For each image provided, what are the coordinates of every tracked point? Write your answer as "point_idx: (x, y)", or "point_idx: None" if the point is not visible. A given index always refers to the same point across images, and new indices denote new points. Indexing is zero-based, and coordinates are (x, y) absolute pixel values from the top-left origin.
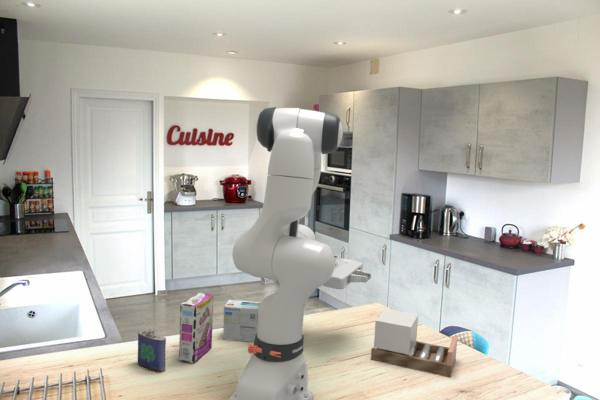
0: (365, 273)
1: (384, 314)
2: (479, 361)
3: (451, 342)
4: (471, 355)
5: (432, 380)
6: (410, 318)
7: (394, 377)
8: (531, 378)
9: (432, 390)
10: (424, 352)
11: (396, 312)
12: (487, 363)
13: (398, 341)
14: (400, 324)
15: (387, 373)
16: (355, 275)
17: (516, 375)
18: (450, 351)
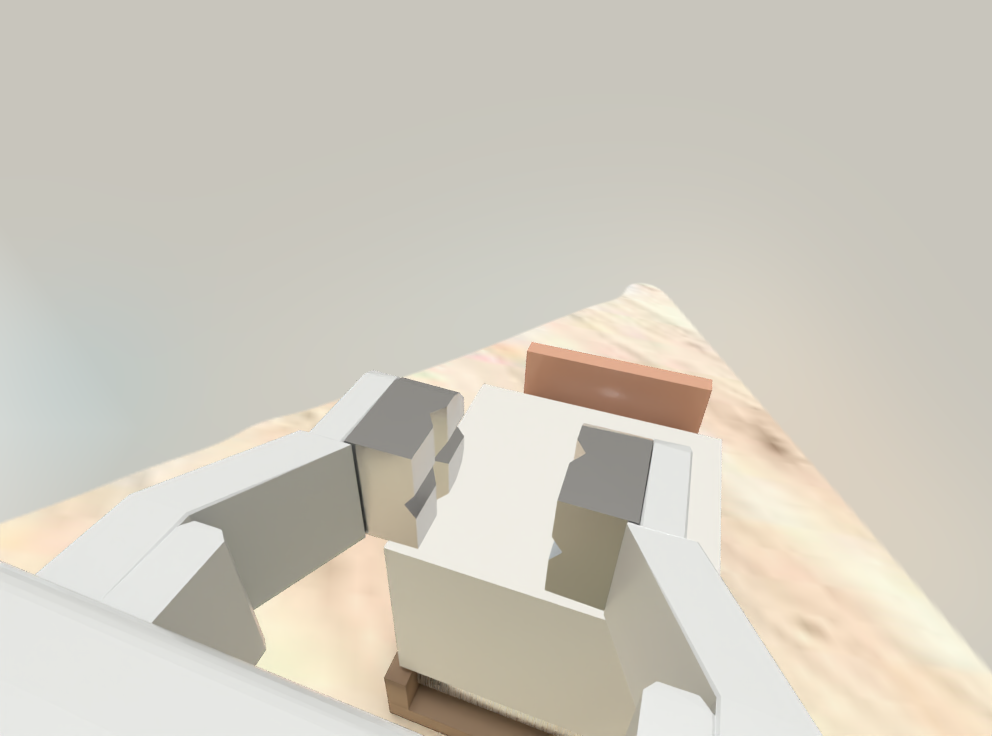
0: (414, 439)
1: (532, 565)
2: (521, 368)
3: (603, 366)
4: (477, 375)
5: (748, 517)
6: (563, 423)
7: (823, 679)
8: (597, 305)
9: (839, 531)
10: None
11: (465, 480)
12: None
13: None
14: (707, 484)
15: None
16: (774, 688)
17: (591, 323)
18: (705, 383)
